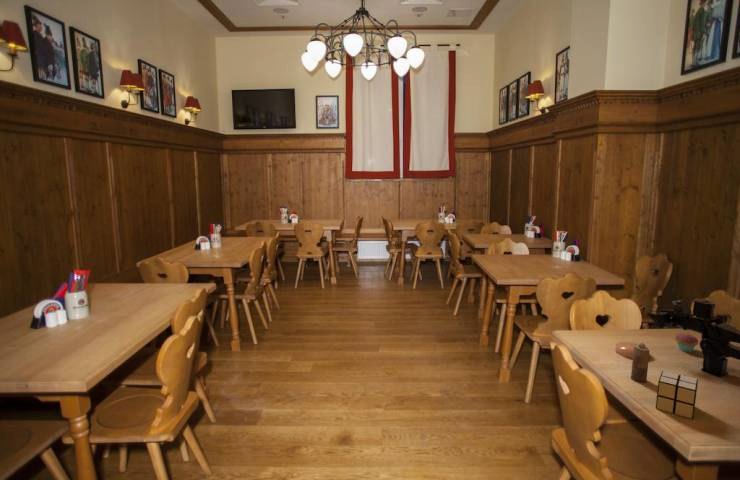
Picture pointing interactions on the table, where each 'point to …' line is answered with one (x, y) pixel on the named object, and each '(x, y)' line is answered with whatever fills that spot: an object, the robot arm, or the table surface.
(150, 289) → the table surface
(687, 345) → the cupcake
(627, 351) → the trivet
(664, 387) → the puzzle cube
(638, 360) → the pepper mill
